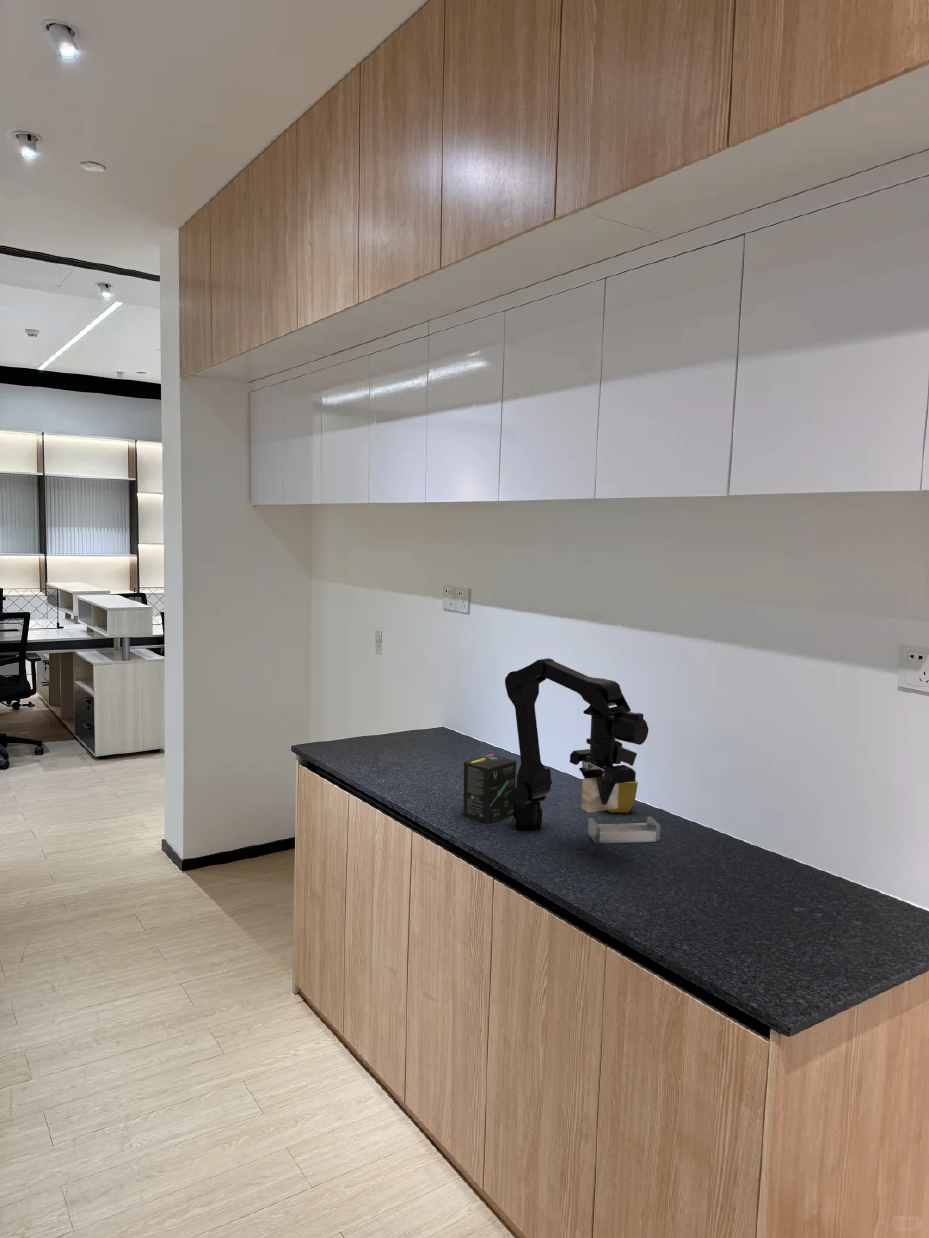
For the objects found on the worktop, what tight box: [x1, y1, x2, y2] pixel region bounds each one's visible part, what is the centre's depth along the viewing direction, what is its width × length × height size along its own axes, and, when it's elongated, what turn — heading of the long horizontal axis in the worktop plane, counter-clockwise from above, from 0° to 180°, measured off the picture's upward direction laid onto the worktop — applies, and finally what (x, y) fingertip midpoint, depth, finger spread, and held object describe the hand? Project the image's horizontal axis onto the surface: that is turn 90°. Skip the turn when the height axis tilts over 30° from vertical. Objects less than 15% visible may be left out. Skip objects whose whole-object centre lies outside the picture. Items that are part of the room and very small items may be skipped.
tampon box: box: [462, 753, 517, 825], centre depth 216 cm, size 11×9×15 cm
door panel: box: [581, 777, 619, 813], centre depth 192 cm, size 8×3×7 cm, turn 115°
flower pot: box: [602, 775, 639, 814], centre depth 223 cm, size 9×9×9 cm
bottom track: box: [587, 816, 661, 844], centre depth 202 cm, size 16×6×4 cm, turn 98°
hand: (600, 801), depth 192 cm, fingers closed on door panel, 3 cm apart
